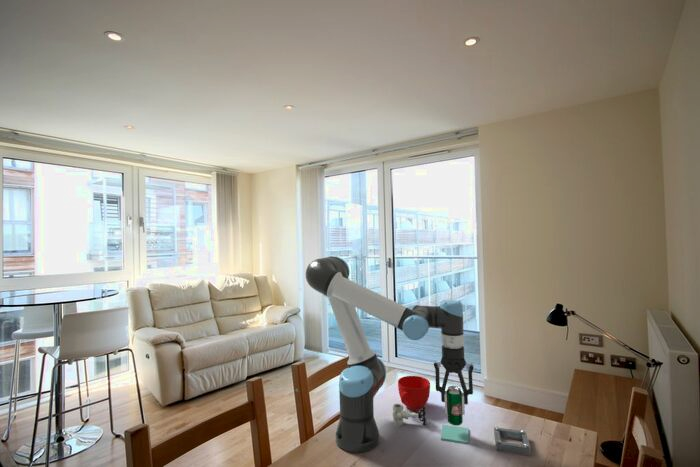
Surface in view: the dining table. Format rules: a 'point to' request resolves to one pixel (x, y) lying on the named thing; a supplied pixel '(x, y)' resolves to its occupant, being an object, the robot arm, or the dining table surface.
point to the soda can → (454, 405)
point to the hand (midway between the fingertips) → (454, 411)
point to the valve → (406, 414)
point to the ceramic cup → (414, 391)
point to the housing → (512, 447)
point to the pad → (455, 434)
